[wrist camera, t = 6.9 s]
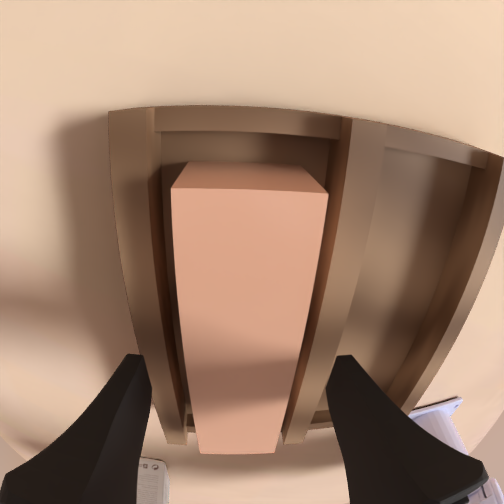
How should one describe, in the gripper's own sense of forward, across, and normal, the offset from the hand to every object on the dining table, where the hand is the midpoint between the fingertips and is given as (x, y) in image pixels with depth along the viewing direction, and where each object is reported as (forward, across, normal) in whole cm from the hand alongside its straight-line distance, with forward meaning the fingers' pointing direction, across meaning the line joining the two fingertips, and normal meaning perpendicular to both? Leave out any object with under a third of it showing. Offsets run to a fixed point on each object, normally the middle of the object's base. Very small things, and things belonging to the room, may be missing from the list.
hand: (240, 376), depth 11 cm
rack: (+4, -4, 0) cm, 6 cm away
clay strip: (+3, 0, 0) cm, 3 cm away
